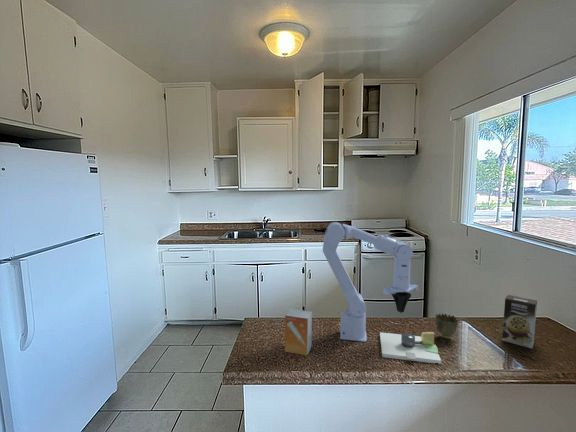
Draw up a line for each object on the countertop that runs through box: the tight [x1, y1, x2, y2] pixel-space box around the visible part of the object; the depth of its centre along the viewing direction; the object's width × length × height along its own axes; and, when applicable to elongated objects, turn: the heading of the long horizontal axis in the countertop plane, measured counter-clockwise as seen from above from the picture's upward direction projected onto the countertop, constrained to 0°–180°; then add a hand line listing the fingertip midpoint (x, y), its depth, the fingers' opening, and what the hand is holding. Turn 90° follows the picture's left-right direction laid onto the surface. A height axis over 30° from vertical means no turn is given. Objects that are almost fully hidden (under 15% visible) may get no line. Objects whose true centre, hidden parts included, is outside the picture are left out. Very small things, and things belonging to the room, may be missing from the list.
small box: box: [284, 308, 313, 356], centre depth 108 cm, size 8×6×13 cm
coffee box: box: [501, 294, 538, 349], centre depth 114 cm, size 9×6×16 cm
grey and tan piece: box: [401, 331, 435, 348], centre depth 110 cm, size 11×4×4 cm, turn 93°
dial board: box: [379, 331, 442, 365], centre depth 109 cm, size 19×18×1 cm
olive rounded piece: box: [435, 313, 459, 340], centre depth 117 cm, size 8×7×8 cm
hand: (400, 311), depth 116 cm, fingers closed
